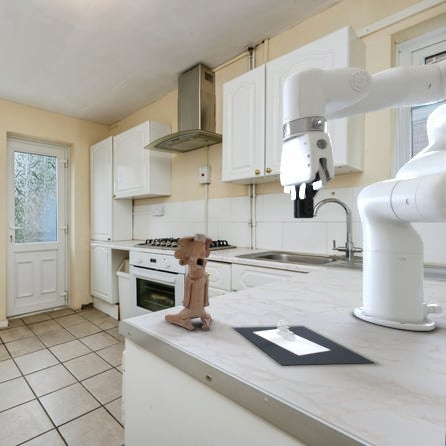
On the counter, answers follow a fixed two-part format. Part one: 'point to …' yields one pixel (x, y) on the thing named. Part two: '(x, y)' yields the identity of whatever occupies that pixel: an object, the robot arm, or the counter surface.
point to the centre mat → (287, 357)
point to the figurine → (193, 281)
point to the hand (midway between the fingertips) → (303, 217)
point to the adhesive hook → (290, 340)
